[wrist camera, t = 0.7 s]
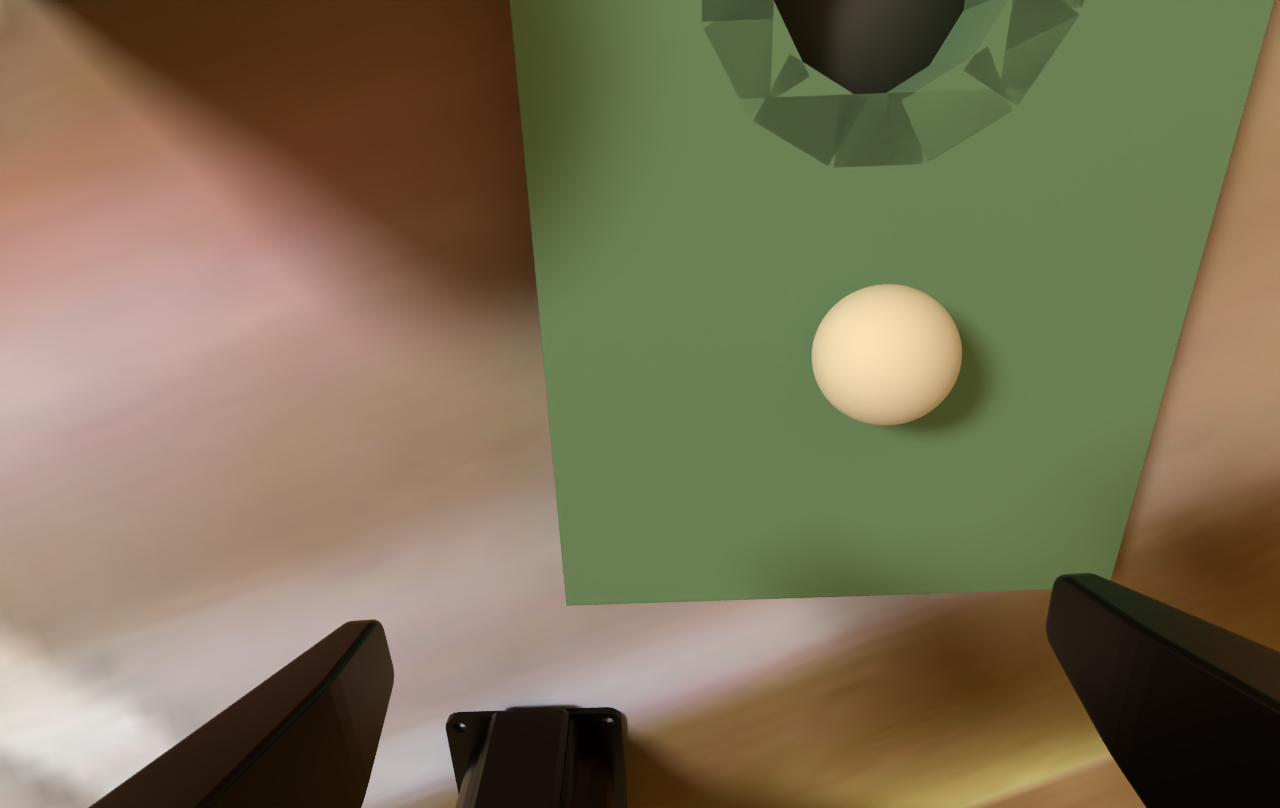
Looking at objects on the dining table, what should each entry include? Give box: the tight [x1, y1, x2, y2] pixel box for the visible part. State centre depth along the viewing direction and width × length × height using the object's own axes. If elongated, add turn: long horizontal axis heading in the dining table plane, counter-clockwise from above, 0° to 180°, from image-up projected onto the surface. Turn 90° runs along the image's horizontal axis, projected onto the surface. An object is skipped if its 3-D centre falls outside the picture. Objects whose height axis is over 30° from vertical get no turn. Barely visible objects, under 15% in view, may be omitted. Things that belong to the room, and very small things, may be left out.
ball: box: [812, 284, 962, 426], centre depth 15 cm, size 3×3×3 cm
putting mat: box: [510, 0, 1275, 606], centre depth 17 cm, size 20×16×2 cm
